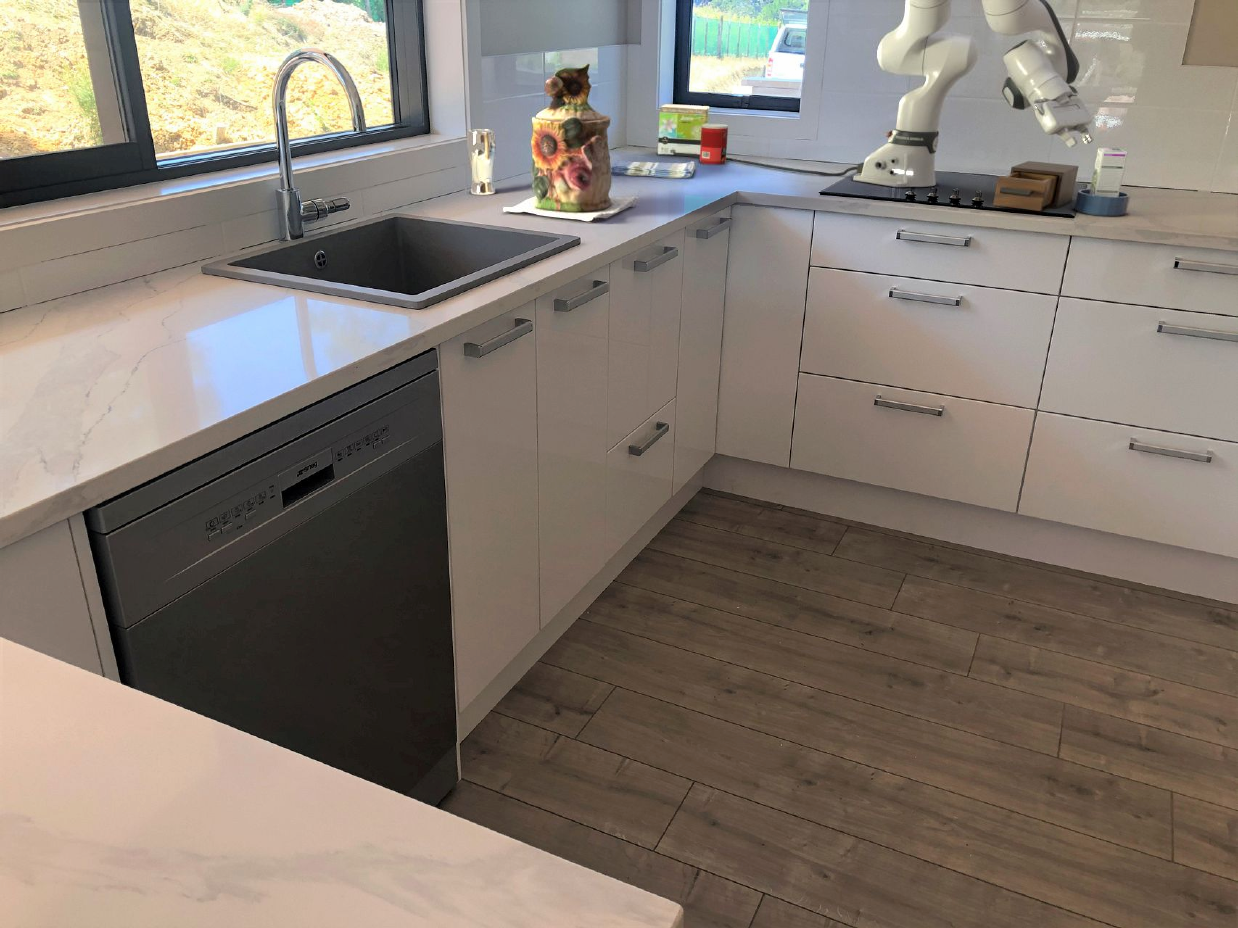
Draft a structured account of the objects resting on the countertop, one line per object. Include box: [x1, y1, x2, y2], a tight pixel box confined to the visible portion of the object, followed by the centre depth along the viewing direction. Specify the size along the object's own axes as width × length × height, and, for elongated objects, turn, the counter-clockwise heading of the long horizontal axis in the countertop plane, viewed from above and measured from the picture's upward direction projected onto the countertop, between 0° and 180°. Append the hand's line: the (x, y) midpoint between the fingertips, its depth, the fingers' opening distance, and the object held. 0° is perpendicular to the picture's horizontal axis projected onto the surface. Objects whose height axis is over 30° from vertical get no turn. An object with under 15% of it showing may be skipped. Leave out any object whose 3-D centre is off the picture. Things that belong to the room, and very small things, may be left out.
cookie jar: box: [503, 63, 638, 222], centre depth 229 cm, size 25×25×32 cm
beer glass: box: [467, 128, 497, 196], centre depth 251 cm, size 7×7×15 cm
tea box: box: [657, 103, 710, 156], centre depth 322 cm, size 15×10×15 cm, turn 81°
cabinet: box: [1009, 160, 1080, 209], centre depth 257 cm, size 15×13×9 cm
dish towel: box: [611, 160, 696, 179], centre depth 288 cm, size 17×24×3 cm
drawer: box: [992, 172, 1058, 212], centre depth 246 cm, size 18×11×7 cm, turn 144°
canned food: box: [699, 123, 729, 165], centre depth 307 cm, size 8×8×11 cm
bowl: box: [1074, 188, 1131, 217], centre depth 246 cm, size 12×12×4 cm
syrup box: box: [1089, 147, 1128, 197], centre depth 244 cm, size 6×6×14 cm
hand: (1082, 144), depth 245 cm, fingers open, 8 cm apart
